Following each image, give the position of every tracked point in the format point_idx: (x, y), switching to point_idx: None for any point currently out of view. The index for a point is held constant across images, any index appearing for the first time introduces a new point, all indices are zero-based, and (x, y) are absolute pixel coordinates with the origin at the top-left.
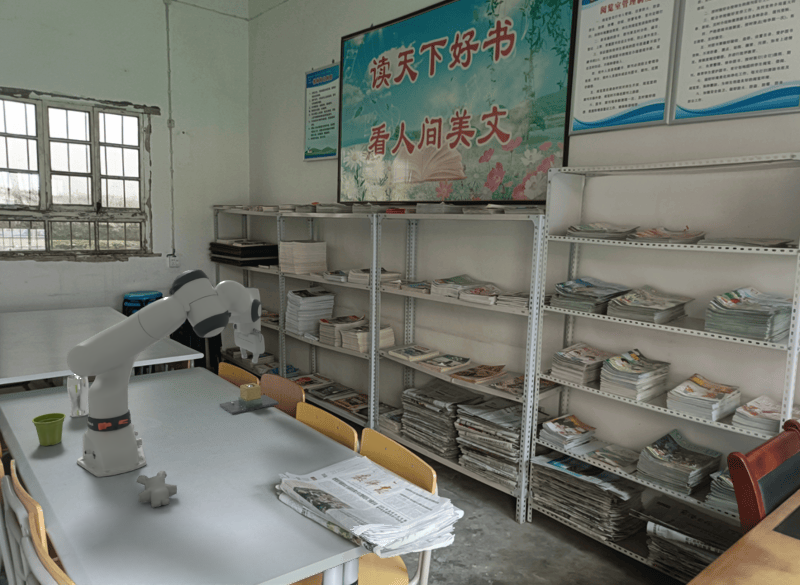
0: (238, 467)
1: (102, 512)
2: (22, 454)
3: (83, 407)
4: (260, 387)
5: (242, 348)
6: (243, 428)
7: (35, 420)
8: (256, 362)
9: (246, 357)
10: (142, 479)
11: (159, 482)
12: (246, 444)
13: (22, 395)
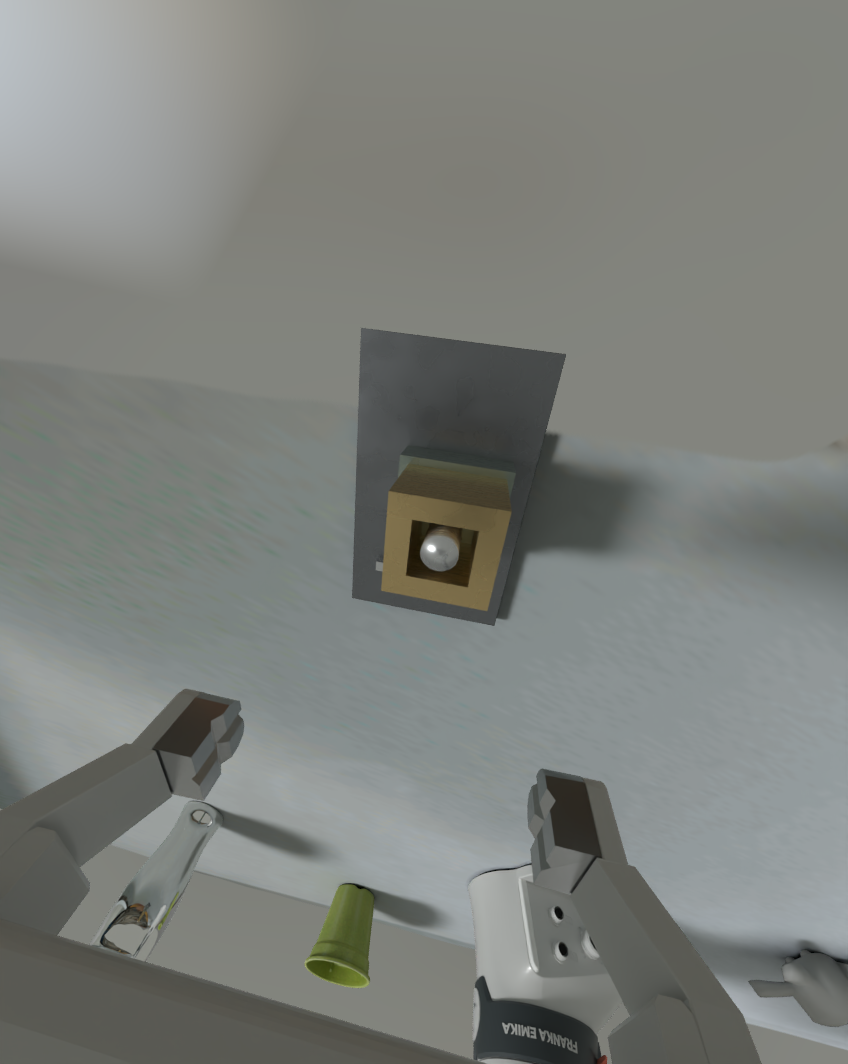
0: None
1: (755, 992)
2: (385, 922)
3: (203, 838)
4: (510, 508)
5: (58, 909)
6: (679, 680)
7: (323, 969)
8: (599, 800)
9: (232, 712)
10: (777, 996)
11: None
12: (822, 758)
13: (12, 801)
